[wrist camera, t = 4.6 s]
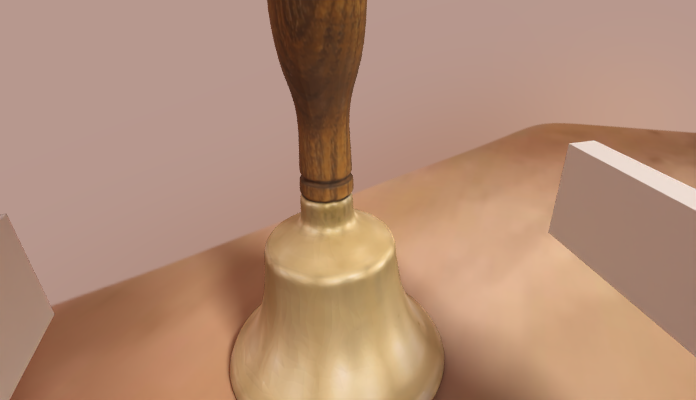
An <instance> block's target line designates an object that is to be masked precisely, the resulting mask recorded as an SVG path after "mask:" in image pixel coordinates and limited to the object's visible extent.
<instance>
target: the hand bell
mask: <svg viewBox="0 0 696 400" xmlns="http://www.w3.org/2000/svg"><path fill="white" fill-rule="evenodd" d="M267 2H268V12H269V18H270V24H271V29H272V34H273V39H274V43H275V47H276V51H277V55H278V59H279V62H280V65H281V68H282V71H283V74H284V76H285V79H286V81H287V84H288V86H289V89H290V92H291V94H292V98H293V101H294V105H295V108H296V114H297V122H298V132H299V166H300V173H301V174H302V175H301V177H300V191H301V193H302V194H301V213H298V214H296V215H293V216H291V217H290V218H288V219H286V220H284V221H283V222H281V223H280V224H279V225H278V226H277V227H276V228H275V229H274V230H273V232H272V233H271V234H270V236H269V238H268V239H267V242H266V246H265V252H264V256H265V284H264V294H263V300H262V304H261V305H260V306H259V307H258V308H257V309H256V310H255V311H254V312H253V313H252V314H251V315H250V317H249V318H248V319H247V321H246V322H245V324H244V325H243V327H242V328H241V330H240V332H239V335H238V337H237V339H236V342H235V345H234V348H233V351H232V356H231V361H230V379H231V384H232V388H233V392H234V394H235V396H236V399H237V400H433V398H434V396H435V394H436V393H437V390H438V388H439V386H440V382H441V379H442V375H443V370H444V349H443V345H442V341H441V338H440V335H439V332H438V330H437V328H436V326H435V325H434V323H433V321H432V320H431V318H430V317H429V315H428V314H427V312H426V311H425V310H424V309H423V308H422V306H421V305H420V304H419V303H418V302H416V301H415V300H414V299H413V298H412V297H411V296H409V295H408V294H407V293H405V292H404V289H403V286H402V283H401V280H400V276H399V270H398V264H397V258H396V249H395V241H394V237H393V235H392V233H391V231H390V229H389V228H388V227H387V226H386V225H385V223H384V222H382V221H381V220H380V219H378V218H377V217H375V216H373V215H372V214H369V213H367V212H364V211H361V210H357V209H354V208H353V197H352V193H351V192H352V190H353V175H352V174H351V170H352V163H351V147H350V131H349V112H350V102H351V96H352V92H353V87H354V83H355V80H356V77H357V73H358V69H359V65H360V61H361V57H362V50H363V44H364V36H365V26H366V9H367V8H366V7H367V0H267Z"/></svg>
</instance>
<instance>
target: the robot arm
mask: <svg viewBox="0 0 696 400" xmlns="http://www.w3.org/2000/svg"><path fill="white" fill-rule="evenodd" d="M549 233H550V234H551V235H552V236H553V237H555V238H556V239H557V240H558V241H559V242H561V243H562V244H563V245H564V246H565V247H566V248H568V249H569V250H570V251H571V252H572V253H574V254H575V255H576V256H577V257H578V258H579V259H581V260H582V261H583V262H584V263H585V264H587V265H588V266H589V267H590V268H591V269H592V270H594V271H595V272H596V273H597V274H598V275H600V276H601V277H602V278H603V279H604V280H605V281H607V282H608V283H609V284H610V285H611V286H613V287H614V288H615V289H616V290H617V291H618V292H620V293H621V294H622V295H623V296H624V297H626V298H627V299H628V300H629V301H630V302H631V303H633V304H634V305H635V306H636V307H637V308H639V309H640V310H641V311H642V312H643V313H644V314H646V315H647V316H648V317H649V318H650V319H652V320H653V321H654V322H655V323H656V324H657V325H659V326H660V327H661V328H662V329H663V330H665V331H666V332H667V333H668V334H669V335H670V336H672V337H673V338H674V339H675V340H676V341H678V342H679V343H680V344H681V345H682V346H683V347H685V348H686V349H687V350H688V351H689V352H691V353H692V354H693V355H694V356H695V357H696V189H695V188H692V187H690V186H688V185H686V184H684V183H682V182H680V181H678V180H676V179H674V178H672V177H670V176H667V175H665V174H663V173H661V172H659V171H657V170H655V169H653V168H651V167H649V166H647V165H645V164H643V163H640V162H638V161H636V160H634V159H632V158H630V157H628V156H626V155H624V154H622V153H620V152H618V151H616V150H613V149H611V148H609V147H607V146H605V145H603V144H601V143H599V142H597V141H595V140H593V141H585V142H577V143H569V145H568V150H567V154H566V158H565V163H564V167H563V171H562V176H561V180H560V184H559V189H558V193H557V197H556V202H555V206H554V210H553V215H552V219H551V223H550V228H549ZM53 316H54V312H53V310H52V308H51V305H50V304H49V301H48V299H47V297H46V295H45V293H44V291H43V289H42V287H41V285H40V283H39V281H38V279H37V276H36V274H35V272H34V270H33V268H32V266H31V264H30V262H29V260H28V258H27V255H26V254H25V252H24V249H23V247H22V245H21V243H20V241H19V239H18V237H17V235H16V233H15V230H14V228H13V226H12V224H11V222H10V220H9V218H8V216H7V214H0V400H10V398H11V396H12V394H13V392H14V390H15V389H16V387H17V385H18V383H19V381H20V379H21V377H22V375H23V373H24V371H25V369H26V368H27V366H28V364H29V362H30V360H31V358H32V356H33V354H34V352H35V350H36V349H37V347H38V345H39V343H40V341H41V339H42V337H43V335H44V333H45V331H46V329H47V328H48V326H49V324H50V322H51V320H52V318H53Z"/></svg>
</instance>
